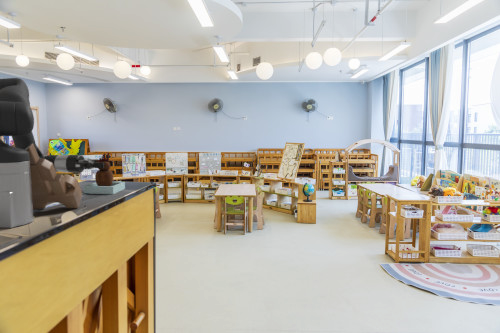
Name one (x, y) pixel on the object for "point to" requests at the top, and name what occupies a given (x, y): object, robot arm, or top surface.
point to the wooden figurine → (104, 173)
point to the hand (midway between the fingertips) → (108, 164)
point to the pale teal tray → (104, 188)
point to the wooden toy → (51, 184)
